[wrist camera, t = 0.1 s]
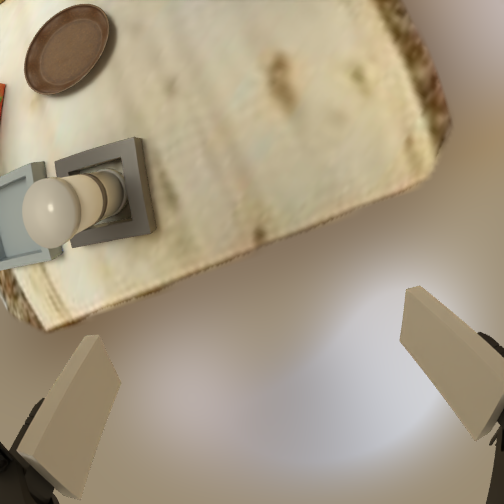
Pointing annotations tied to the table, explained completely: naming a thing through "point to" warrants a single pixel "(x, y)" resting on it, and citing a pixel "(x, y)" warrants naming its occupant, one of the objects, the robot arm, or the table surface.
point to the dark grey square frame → (135, 187)
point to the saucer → (66, 48)
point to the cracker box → (1, 95)
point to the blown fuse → (71, 205)
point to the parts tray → (20, 219)
